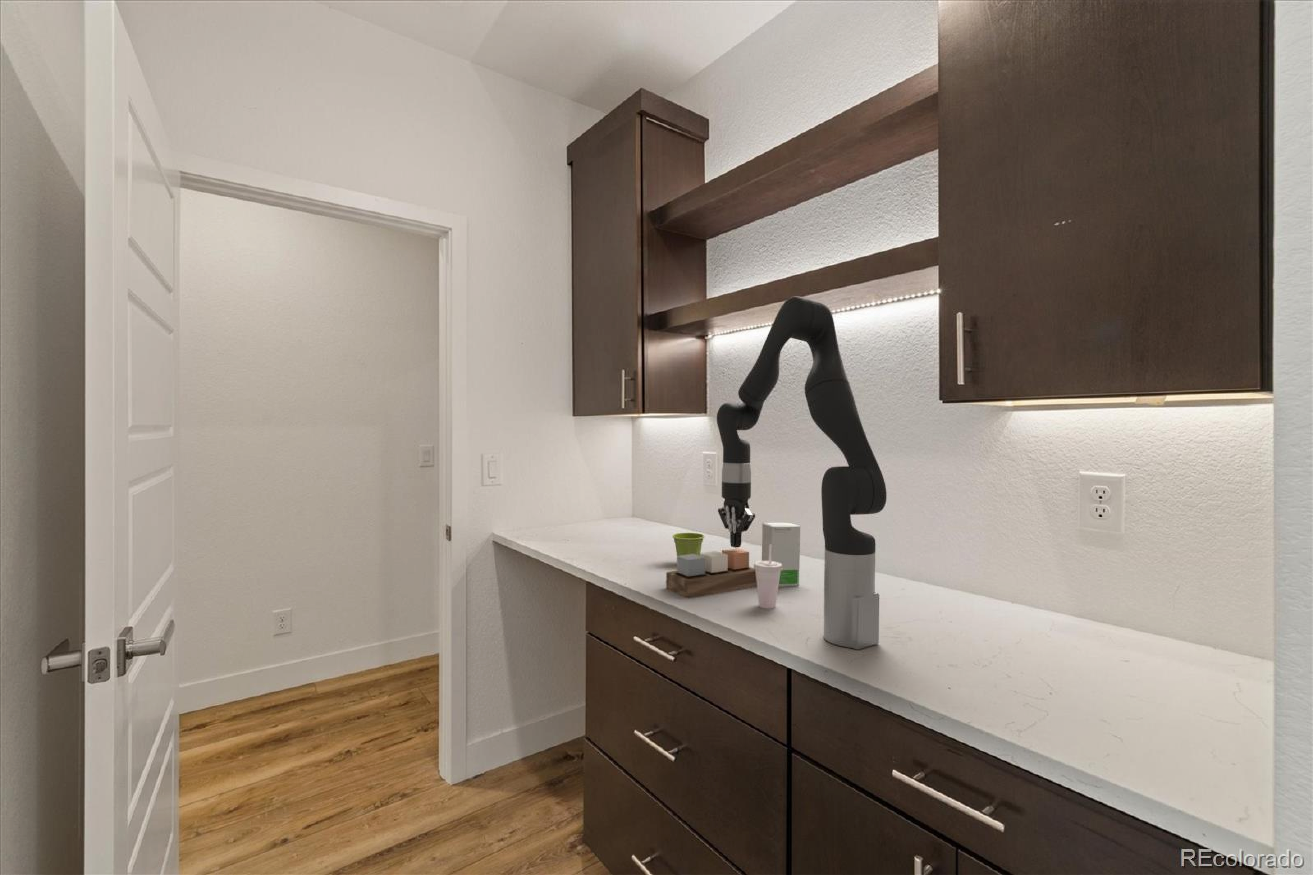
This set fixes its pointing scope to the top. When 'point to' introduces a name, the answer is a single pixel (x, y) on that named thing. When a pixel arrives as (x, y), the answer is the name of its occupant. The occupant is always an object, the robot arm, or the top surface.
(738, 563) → the key rust
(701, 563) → the key slate
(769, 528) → the skincare box
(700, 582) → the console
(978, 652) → the top surface
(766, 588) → the smoothie
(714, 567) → the key cream
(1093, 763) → the top surface
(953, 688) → the top surface
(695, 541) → the plant pot
